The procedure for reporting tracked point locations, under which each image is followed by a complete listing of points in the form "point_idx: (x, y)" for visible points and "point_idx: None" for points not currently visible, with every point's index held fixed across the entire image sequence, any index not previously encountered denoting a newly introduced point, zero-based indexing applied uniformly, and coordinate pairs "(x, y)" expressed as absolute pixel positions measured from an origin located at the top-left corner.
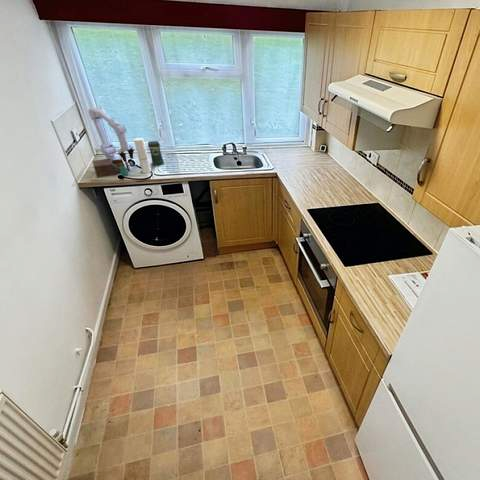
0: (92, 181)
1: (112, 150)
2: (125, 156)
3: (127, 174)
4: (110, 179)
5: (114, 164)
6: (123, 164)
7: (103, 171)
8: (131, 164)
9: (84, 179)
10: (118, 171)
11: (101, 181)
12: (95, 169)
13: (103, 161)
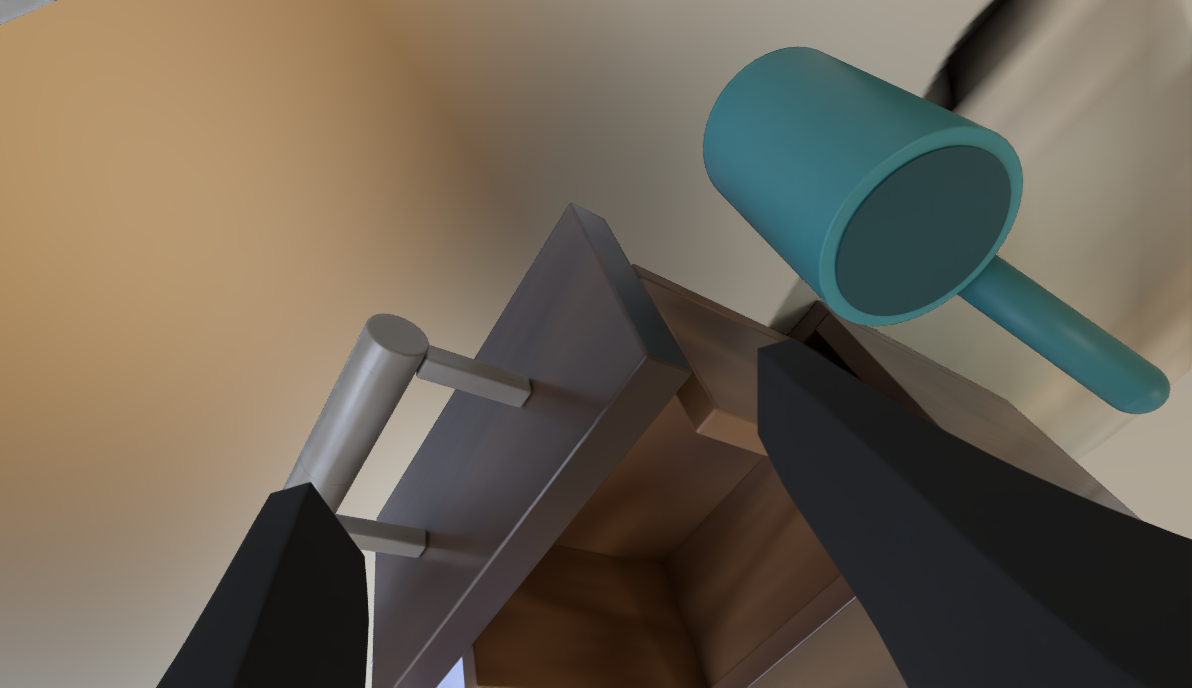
0: (1175, 312)
1: None
2: (995, 526)
3: (744, 77)
4: (1079, 160)
5: None
6: (725, 392)
7: (1013, 431)
8: (422, 354)
9: (1095, 442)
10: (776, 338)
11: (1184, 204)
12: (1122, 503)
13: (878, 683)
